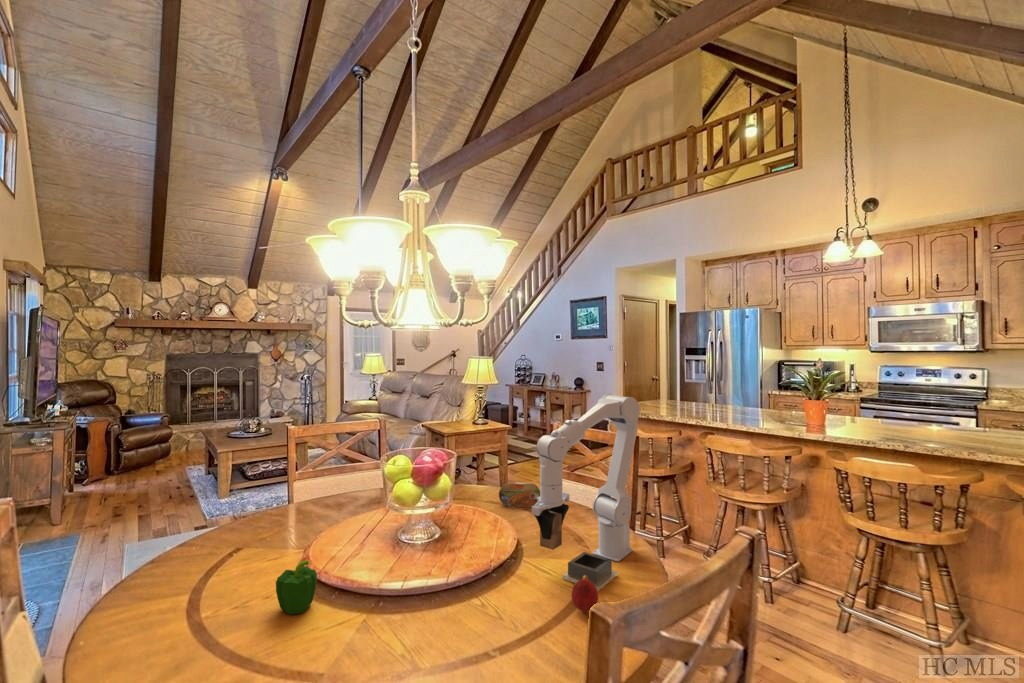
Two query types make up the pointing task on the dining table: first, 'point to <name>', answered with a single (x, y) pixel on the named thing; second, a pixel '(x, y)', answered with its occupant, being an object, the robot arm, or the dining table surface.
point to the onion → (584, 594)
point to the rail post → (553, 533)
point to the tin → (519, 494)
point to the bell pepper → (296, 588)
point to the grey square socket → (590, 570)
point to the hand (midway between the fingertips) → (551, 535)
